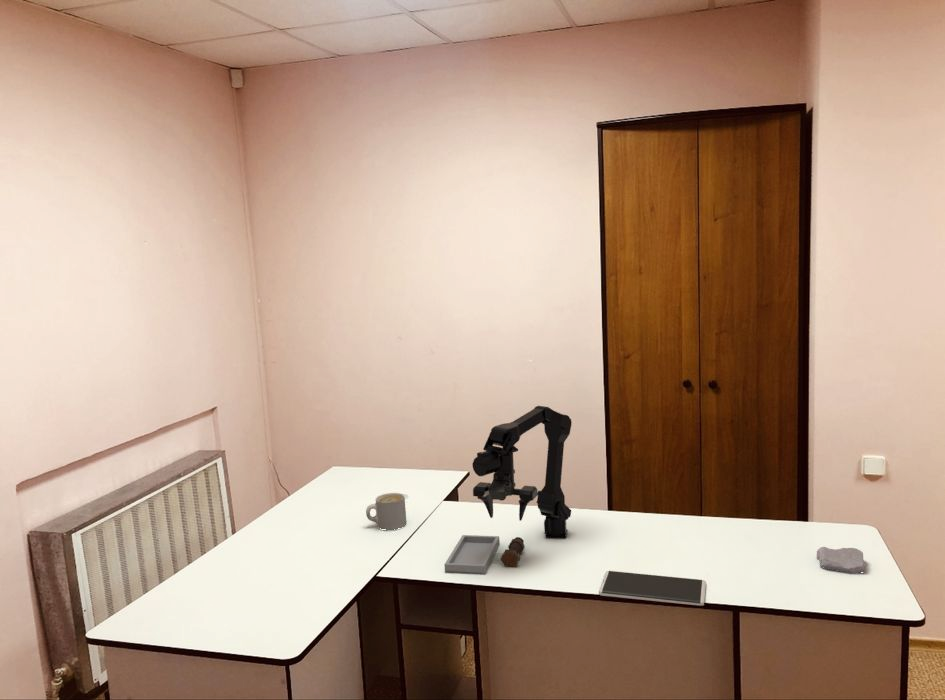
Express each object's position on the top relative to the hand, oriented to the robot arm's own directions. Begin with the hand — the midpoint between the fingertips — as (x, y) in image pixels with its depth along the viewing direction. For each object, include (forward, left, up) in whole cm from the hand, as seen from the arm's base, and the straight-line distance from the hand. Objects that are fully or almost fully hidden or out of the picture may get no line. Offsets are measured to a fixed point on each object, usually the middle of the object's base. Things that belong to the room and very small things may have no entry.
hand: (506, 518), depth 223 cm
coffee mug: (+47, -22, -13) cm, 53 cm away
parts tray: (+11, +1, -12) cm, 16 cm away
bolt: (-2, -1, -13) cm, 13 cm away
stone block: (-93, -3, -13) cm, 94 cm away
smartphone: (-42, +16, -13) cm, 47 cm away
